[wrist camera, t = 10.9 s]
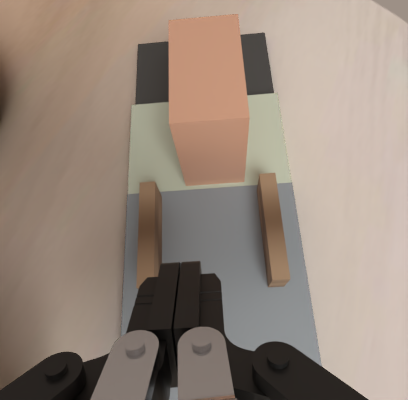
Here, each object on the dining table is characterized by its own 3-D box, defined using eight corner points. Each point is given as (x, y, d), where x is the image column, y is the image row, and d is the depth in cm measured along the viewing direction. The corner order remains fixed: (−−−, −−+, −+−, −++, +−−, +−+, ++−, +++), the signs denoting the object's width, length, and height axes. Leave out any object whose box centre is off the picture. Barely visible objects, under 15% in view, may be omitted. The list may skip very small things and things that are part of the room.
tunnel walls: (284, 286, 26) (290, 278, 23) (146, 294, 26) (136, 287, 24) (271, 189, 29) (275, 172, 26) (147, 197, 30) (139, 182, 27)
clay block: (244, 182, 30) (249, 117, 21) (185, 186, 30) (168, 123, 22) (236, 97, 33) (237, 13, 25) (183, 101, 33) (168, 20, 25)
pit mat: (274, 102, 35) (274, 98, 35) (136, 113, 36) (135, 110, 35) (264, 36, 39) (264, 32, 38) (139, 47, 39) (138, 44, 39)
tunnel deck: (332, 474, 23) (341, 485, 21) (122, 481, 24) (113, 492, 22) (288, 192, 31) (292, 182, 29) (133, 203, 32) (127, 194, 30)
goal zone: (288, 192, 31) (291, 182, 29) (133, 203, 32) (127, 194, 30) (274, 106, 35) (277, 93, 33) (136, 117, 36) (131, 105, 34)
